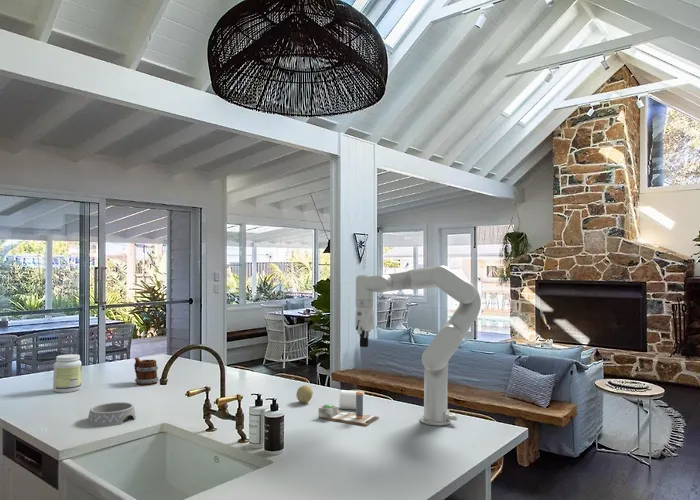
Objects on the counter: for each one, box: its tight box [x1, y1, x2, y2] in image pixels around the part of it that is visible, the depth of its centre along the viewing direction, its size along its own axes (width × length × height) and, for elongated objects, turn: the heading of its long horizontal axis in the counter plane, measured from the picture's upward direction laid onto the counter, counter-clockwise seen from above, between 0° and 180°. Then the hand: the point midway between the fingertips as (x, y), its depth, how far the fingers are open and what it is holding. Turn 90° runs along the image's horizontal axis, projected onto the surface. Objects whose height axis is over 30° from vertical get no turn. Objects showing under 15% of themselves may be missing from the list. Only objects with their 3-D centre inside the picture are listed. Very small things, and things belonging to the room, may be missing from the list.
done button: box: [324, 403, 333, 409], centre depth 220 cm, size 3×3×3 cm
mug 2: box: [338, 389, 366, 411], centre depth 236 cm, size 12×10×8 cm
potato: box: [295, 384, 314, 404], centre depth 243 cm, size 8×8×8 cm
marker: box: [355, 390, 364, 419], centre depth 216 cm, size 3×3×10 cm
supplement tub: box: [52, 353, 83, 394], centre depth 260 cm, size 12×12×17 cm
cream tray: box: [317, 404, 380, 427], centre depth 219 cm, size 22×12×4 cm, turn 63°
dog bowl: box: [86, 401, 137, 428], centre depth 213 cm, size 17×18×5 cm
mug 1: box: [133, 357, 160, 387], centre depth 278 cm, size 12×14×15 cm
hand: (364, 346), depth 225 cm, fingers closed
